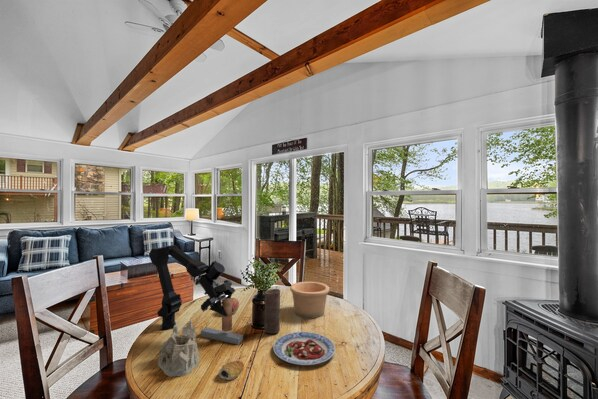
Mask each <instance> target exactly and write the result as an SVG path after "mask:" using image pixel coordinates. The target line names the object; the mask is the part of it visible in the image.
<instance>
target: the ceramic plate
mask: <svg viewBox="0 0 598 399" xmlns="http://www.w3.org/2000/svg"><path fill="white" fill-rule="evenodd" d="M272 348H273V352H274V353H275V355H276V356H277V357H278V358H279V359H281V360H282V361H285V362H287V363H289V364H293V365H300V366H313V365H318V364H323V363H325V362H327V361H328V360H330V359H332V357H333V356H334V355H335V352H336V346H335V343H334V342H333V341H332V340H331V339H330V338H329V337H326V336H325V335H322V334H320V333H316V332H311V331H295V332H290V333H287V334H283V335H282V336H280V337H279V338H277V339H276V341H275V342H274V343H273V347H272Z"/></svg>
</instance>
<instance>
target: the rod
mask: <svg viewBox="0 0 598 399" xmlns="http://www.w3.org/2000/svg"><path fill="white" fill-rule="evenodd" d="M221 302H222V304H221V305H222V306H223V308H224V310H225V311H226V313H227V316H226V317H225V316H223V315H221V331H225V332H230V331H232V329H233V314H232V299H223V300H221Z"/></svg>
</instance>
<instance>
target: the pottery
mask: <svg viewBox="0 0 598 399" xmlns="http://www.w3.org/2000/svg"><path fill="white" fill-rule="evenodd" d="M289 287H290V289H289V290H290V291H291V293H292V299H293V300H292V301H293V306H294V307H293V310H294V313H295V315H296V316H298V317H300V318H302V319H307V320H308V319H310V320H311V319H319V318H321V317H323V316H324V315H325V310H326V302H327V296H328V293H330V286H329V285H327V284H326V283H322V282H318V281H299V282H295V283H293V284H291V286H289Z"/></svg>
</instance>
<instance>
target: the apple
mask: <svg viewBox="0 0 598 399" xmlns="http://www.w3.org/2000/svg"><path fill="white" fill-rule="evenodd" d="M231 299H232V307H233V312H232V315H233V314H235V313H237V312H238V310H239V307H240V302H239V299H237V298H236V297H231Z"/></svg>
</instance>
